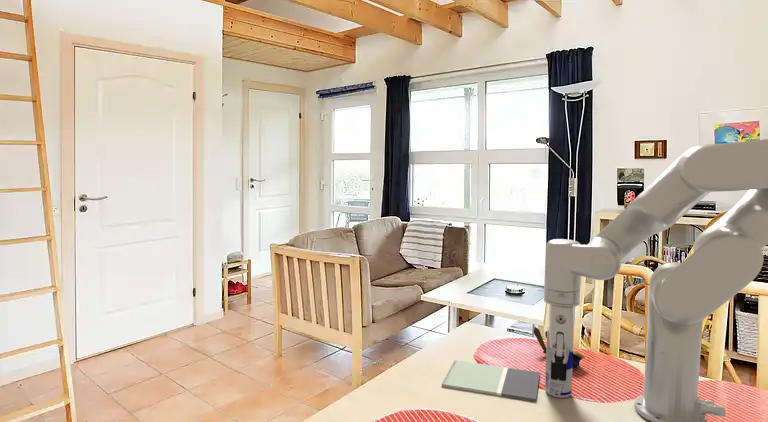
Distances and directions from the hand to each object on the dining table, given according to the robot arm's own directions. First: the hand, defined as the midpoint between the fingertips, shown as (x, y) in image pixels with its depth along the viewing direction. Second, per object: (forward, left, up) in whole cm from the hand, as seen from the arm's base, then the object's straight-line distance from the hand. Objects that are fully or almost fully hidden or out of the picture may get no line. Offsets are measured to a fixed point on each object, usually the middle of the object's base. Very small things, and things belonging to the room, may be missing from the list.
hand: (558, 373), depth 110 cm
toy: (0, -20, -5) cm, 20 cm away
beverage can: (0, 0, -5) cm, 5 cm away
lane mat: (+15, -1, -5) cm, 16 cm away
